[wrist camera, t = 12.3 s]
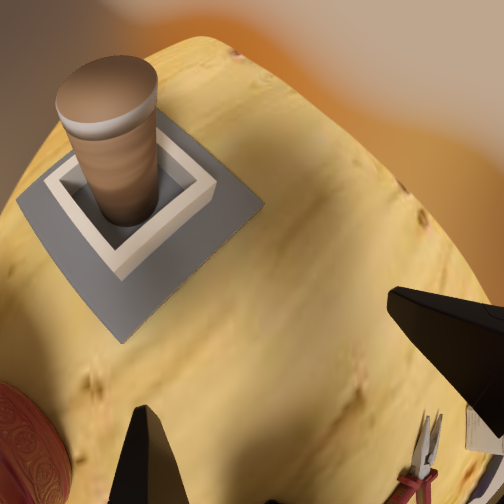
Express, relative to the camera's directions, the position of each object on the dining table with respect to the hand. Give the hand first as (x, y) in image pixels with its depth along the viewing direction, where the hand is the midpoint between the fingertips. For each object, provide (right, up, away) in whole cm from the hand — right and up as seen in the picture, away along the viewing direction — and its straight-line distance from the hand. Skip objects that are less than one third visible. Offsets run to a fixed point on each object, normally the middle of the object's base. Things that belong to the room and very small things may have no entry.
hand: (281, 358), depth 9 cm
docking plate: (-11, +7, +14) cm, 19 cm away
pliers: (+18, -26, +12) cm, 34 cm away
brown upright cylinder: (-11, +8, +13) cm, 18 cm away
